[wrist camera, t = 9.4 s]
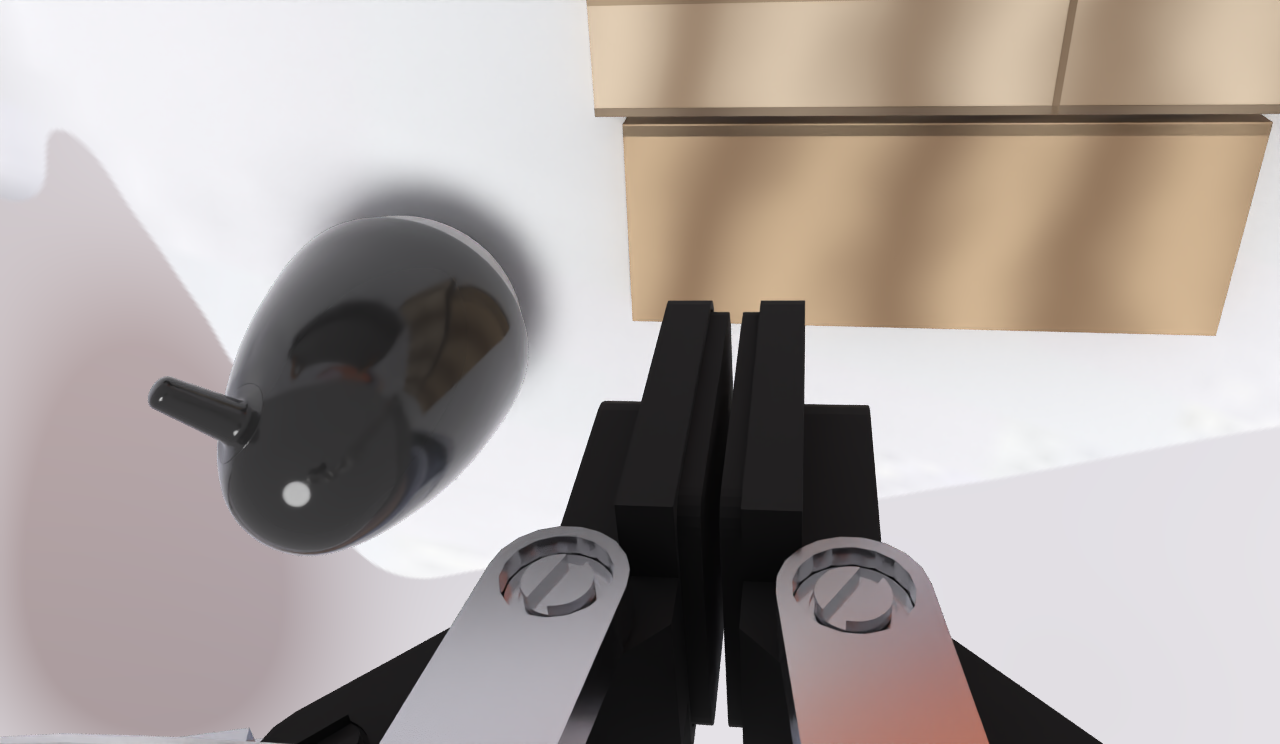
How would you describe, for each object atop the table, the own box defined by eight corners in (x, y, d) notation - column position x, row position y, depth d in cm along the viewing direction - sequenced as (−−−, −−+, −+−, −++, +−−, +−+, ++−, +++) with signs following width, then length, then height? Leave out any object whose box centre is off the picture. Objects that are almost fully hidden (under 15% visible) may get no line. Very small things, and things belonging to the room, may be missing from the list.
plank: (1258, 112, 34) (1272, 122, 33) (1204, 321, 38) (1215, 335, 37) (627, 115, 37) (622, 124, 36) (637, 307, 41) (632, 320, 40)
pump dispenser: (414, 126, 39) (222, 309, 26) (597, 309, 42) (507, 552, 29) (269, 275, 44) (46, 493, 31) (445, 429, 47) (309, 685, 34)
